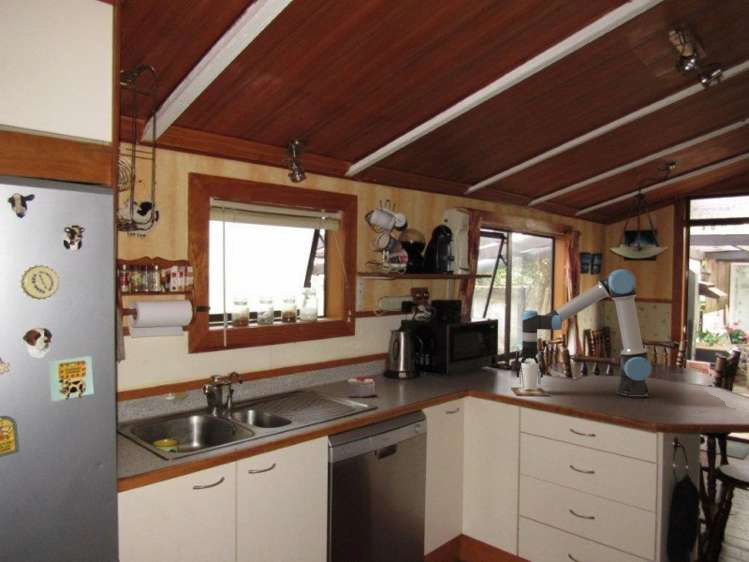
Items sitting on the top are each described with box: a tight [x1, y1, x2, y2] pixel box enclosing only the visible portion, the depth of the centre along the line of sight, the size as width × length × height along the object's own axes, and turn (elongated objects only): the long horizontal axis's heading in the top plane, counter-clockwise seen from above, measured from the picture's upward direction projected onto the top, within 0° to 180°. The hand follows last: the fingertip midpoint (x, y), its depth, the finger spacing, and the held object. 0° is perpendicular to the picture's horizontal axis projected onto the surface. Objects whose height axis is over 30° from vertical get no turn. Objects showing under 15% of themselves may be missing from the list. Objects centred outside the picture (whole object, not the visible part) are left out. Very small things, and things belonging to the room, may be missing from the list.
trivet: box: [510, 386, 550, 398], centre depth 279 cm, size 16×16×1 cm
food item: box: [346, 375, 376, 398], centre depth 270 cm, size 14×8×10 cm, turn 97°
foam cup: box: [520, 360, 540, 389], centre depth 279 cm, size 10×9×13 cm
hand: (529, 383), depth 279 cm, fingers closed on foam cup, 9 cm apart
